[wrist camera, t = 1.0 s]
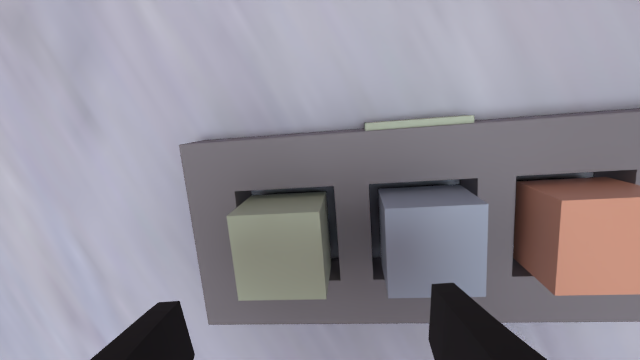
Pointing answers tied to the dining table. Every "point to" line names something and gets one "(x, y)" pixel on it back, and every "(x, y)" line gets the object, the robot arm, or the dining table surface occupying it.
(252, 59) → the dining table surface
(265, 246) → the sage button
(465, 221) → the slate button
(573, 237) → the terracotta button
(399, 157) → the button panel
